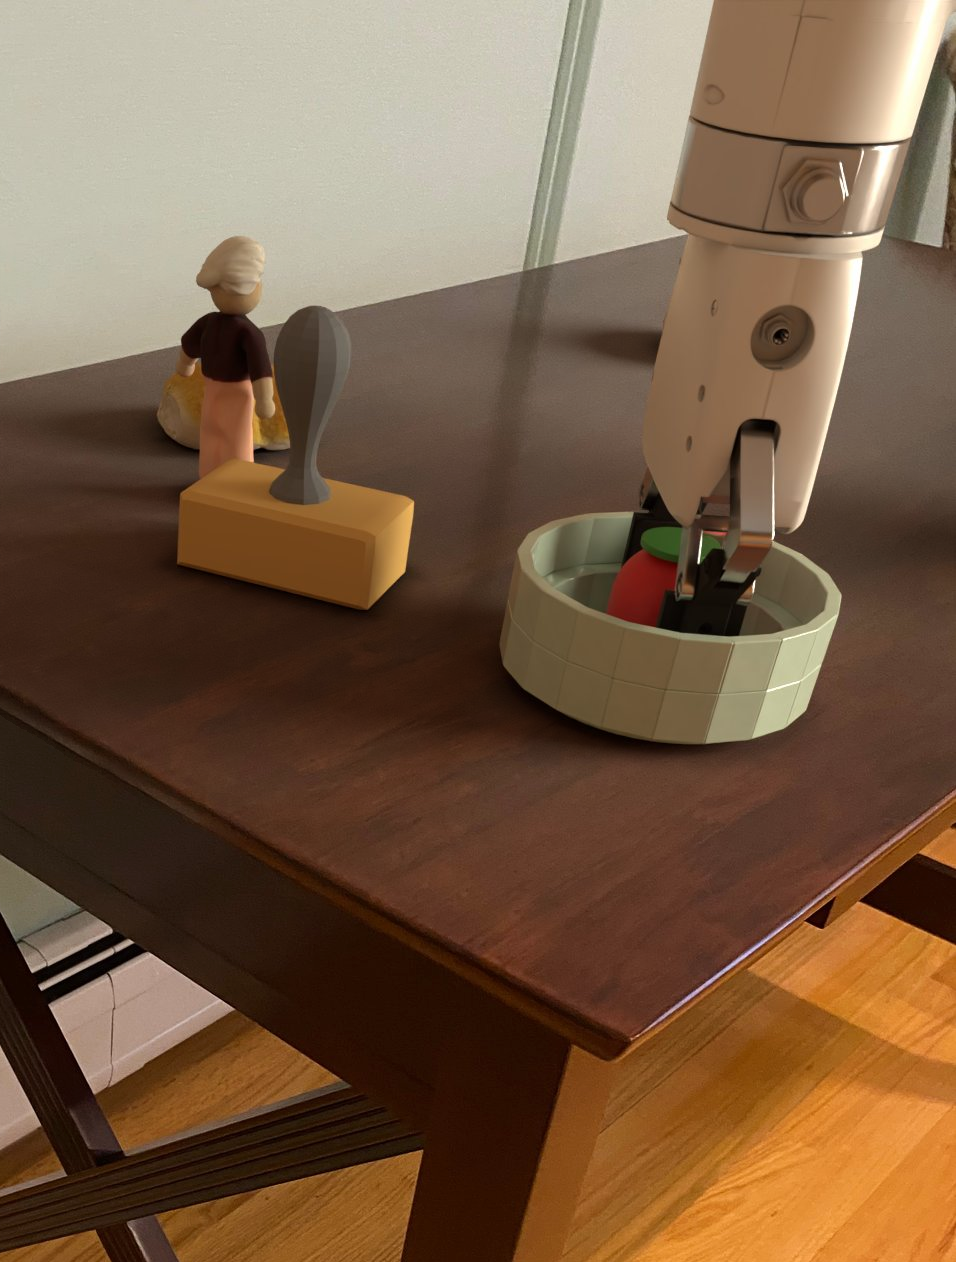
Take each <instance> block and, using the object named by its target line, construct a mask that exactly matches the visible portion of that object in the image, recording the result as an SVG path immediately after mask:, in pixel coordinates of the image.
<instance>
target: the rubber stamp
mask: <svg viewBox="0 0 956 1262" xmlns="http://www.w3.org/2000/svg"><path fill="white" fill-rule="evenodd" d="M351 359H352V341H351V337H350V333H349V331H348V327H346V325H345V322H344V321H343V320H342V319H341V318H340V316H339V315H338V314H337V313H335V312H334V311H333V310H332V309H330V308H327V307H326V306H322V305H308V306H305V307H302V308H300V309H297V310H296V311H295V312H293V313H292V314H291V315H290V316H289V317H288V318H287V320H286V321H285V322H284V324H283V325H282V327H281V329H280V331H279V334H278V336H277V338H276V342H275V346H274V350H273V362H272V363H273V365H274V376H275V382H276V387H277V391H278V395H279V399H280V402H281V406H282V409H283V413H284V417H285V420H286V424H287V428H288V433H289V440H290V448H289V452H290V454H289V459H288V460H289V461H288V464H287V467H286V468H285V469H284V468H280V467H275V466H271V465H265V464H261V463H257V462H254V463H253V462H248V461H244V460H239V459H235V458H234V459H232V460H229V461H227V462H225V463H224V464H222V465H221V466H219V467H218V468H216V469H215V470H213V471H212V472H211V473H209V474H208V475H206V476H205V477H203V478H202V479H200V478H199V480H197V481H196V482H195V483H192V485H190V486H188V487H186V489H185V490H184V489H183V490H182V491H181V492H180V494H179V511H178V512H179V513H178V535H177V536H178V537H177V559H176V561H177V562H176V565H179V566H183V567H185V568H190V569H193V570H194V569H195V570H199V571H203V572H207V573H211V574H215V575H217V576H218V575H219V576H221V577H222V576H223V577H226V578H231V579H235V580H239V581H243V582H247V583H250V584H255V585H259V586H262V587H263V586H264V587H267V588H270V589H275V590H278V591H279V590H280V591H282V592H283V591H284V592H287V593H292V594H295V595H299V596H303V597H307V598H311V599H316V600H319V601H323V602H327V603H331V604H334V605H340V606H344V607H347V608H352V609H355V610H360V611H362V610H363V611H365V610H366V611H367V610H369V609H370V608H371V607H372V606H373V605H374V604H375V603H376V602H377V601H378V600H379V599H380V598H381V597H382V596H383V595H384V594H385V593H386V592H387V591H388V590H389V589H390V588H391V587H392V586H393V585H394V583H396V582H397V580H398V579H400V577H402V576H403V575H404V574H405V573H406V568H407V561H408V553H409V547H410V540H411V533H412V526H413V519H414V511H415V510H414V509H415V507H414V506H415V500H413V499H411V498H409V497H408V496H406V495H402V494H397V493H393V492H388V491H384V490H379V489H374V488H371V487H366V486H361V485H357V484H352V483H348V482H347V483H346V482H344V481H343V482H342V481H338V480H333V479H329V478H325V477H322V475H321V474H320V472H319V470H318V466H317V455H318V450H319V445H320V442H321V438H322V435H323V433H324V430H325V428H326V426H327V424H328V422H329V419H330V417H331V415H332V413H333V412H334V409H335V407H336V405H337V403H338V401H339V399H340V396H341V394H342V391H343V389H344V386H345V383H346V380H347V377H348V374H349V370H350V366H351V361H352V360H351Z"/></svg>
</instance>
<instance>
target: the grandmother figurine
mask: <svg viewBox="0 0 956 1262" xmlns="http://www.w3.org/2000/svg"><path fill="white" fill-rule="evenodd" d="M265 255H266V254H265V251H264V247H263V246H262V245H261V244H260V243H259V242H257V241H255V240H254V239H253V238H251V237H249V236H245V235H234V236H231V237H229V238H226V239H225V240H223V241H221V242H220V243H219V244H218V245H217V246H216V247H215V248H213V250H212V251H211V252H210V253H209V254H208V255H207V257H206V258H205V260H204V262H203V264H202V265H201V268H200V271H199V272H198V273H197V275H196V277H195V282H196V285H197V286H198V287H200V288H202V289H204V290H207V291H209V292H210V297H211V300H212V302H213V305H214V306H215V307H216V308H217V310H218V311H209V312H208V313H206V314H204V315H202V316H201V317H199V318H198V319H197V320H196V321H194V322H193V324H192V325H190V327H189V328H188V329H187V330H186V331H185V332H184V333H183V334H182V336H181V337H180V344H181V347H180V349H179V353H178V354H179V355H178V356H179V358H178V359H177V360H176V363H175V371H176V372H177V373H178V374H179V375H180V376H182V377H189V376H191V375H192V374H193V372H194V369H195V364H197V362H198V360H199V359H200V364H201V371H202V375H203V378H204V381H205V384H206V385H205V392H204V399H203V404H202V411H201V424H200V449H199V456H198V459H199V460H198V476H199V480H200V479H202V478H203V477H205V476H206V475H208V474H209V473H211V472H212V471H213V470H215V469H216V468H218V467H219V466H221V465H222V464H224V463H225V462H227V461H229V460H232V459H234V458H235V459H239V460H244V461H248V462H253V463H255V460H254V450H253V431H252V418H253V408H254V398H255V401H256V403H255V413H256V415H257V417H259V418H260V419H269V418H271V417H272V416H273V415H274V413H275V404H274V402H273V400H272V397H273V394H274V393H273V382H272V379H273V372H272V367H271V365H272V364H271V360H270V356H269V353H268V349H267V341H266V337H265V335H264V332H263V331H262V330H261V329H260V328H259V327H258V326H257V325H256V324H255V323H254V322H253V321H252V320H251V319H249V317H248V316H247V315H249V313H251V312H252V311H254V310H255V309H256V307H257V306H258V304H259V303H260V300H261V298H262V293H263V282H262V278H261V275H263V274H264V267H265V265H266V256H265Z"/></svg>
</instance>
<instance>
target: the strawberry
mask: <svg viewBox="0 0 956 1262" xmlns="http://www.w3.org/2000/svg"><path fill="white" fill-rule="evenodd" d="M681 532H682V528H678V527H658V528H652V529H649V530H647V531H645V532H644V533H643V535H642V538H641V542H640V543H641V546H642V548H643V550H641V551H639V552H638V553H636V554H635V555H633V556H632V557H631V558H630V559H629V560H628V561H627V562H626V563H625V564H624V566H623V567H622V568H621V570H620V571H619V573H618V574H617V576H616V579H615V581H614V583H613V586H612V590H611V594H610V598H609V603H608V607H607V611H606V614H608V615H610V616H613V617H616V618H619V619H622V620H625V621H627V622H631V623H636V624H641V625H645V626H650V627H656V623H657V619H658V615H659V611H660V607H661V603H662V600H663V596H664V592H665V590H675V582H676V573H677V565H678V557H679V549H680V540H681ZM713 548H717V549H721V547H720V544H719V543H718V542H717V541H716V540H715V539H713V538H712V537H710V536H706V535H702V543H701V551H700V559H699V564H700V563H701V562H702V561H703V559H704V558H705V557H706V556H707V554H708V553H709V552H710V551H711V549H713Z"/></svg>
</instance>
